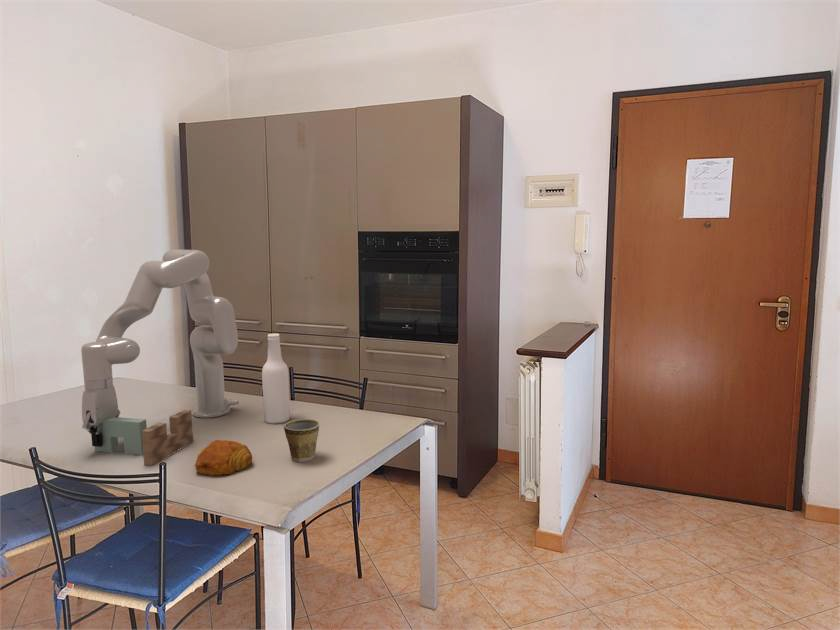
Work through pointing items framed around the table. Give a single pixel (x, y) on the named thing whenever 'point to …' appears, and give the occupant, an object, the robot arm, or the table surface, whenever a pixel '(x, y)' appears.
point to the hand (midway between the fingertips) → (104, 442)
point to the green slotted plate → (122, 434)
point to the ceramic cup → (302, 438)
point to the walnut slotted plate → (167, 437)
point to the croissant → (223, 458)
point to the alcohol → (275, 384)
